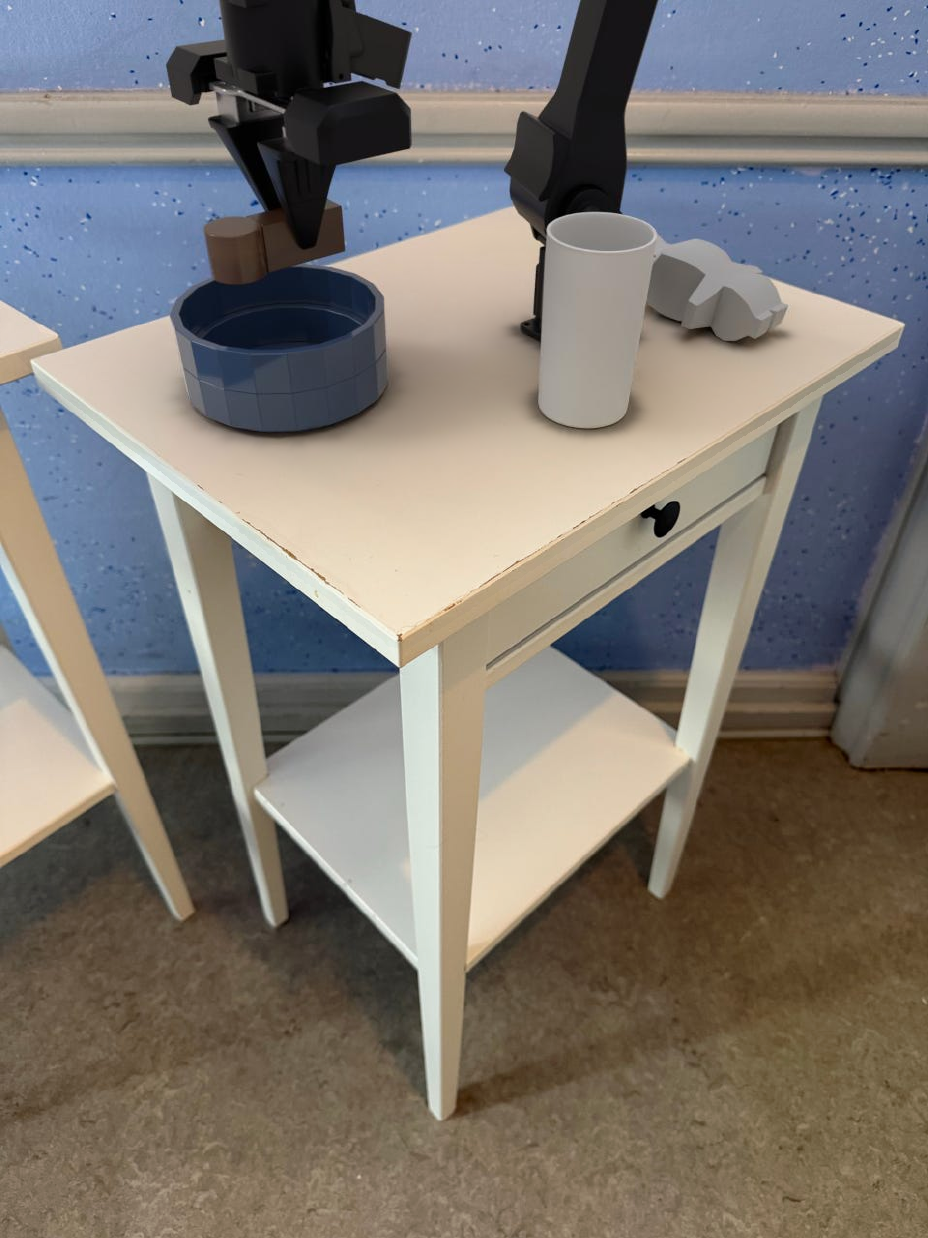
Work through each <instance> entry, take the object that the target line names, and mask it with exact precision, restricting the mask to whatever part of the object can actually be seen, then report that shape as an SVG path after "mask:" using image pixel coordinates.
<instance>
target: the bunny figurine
mask: <svg viewBox="0 0 928 1238" xmlns="http://www.w3.org/2000/svg"><path fill="white" fill-rule="evenodd" d="M763 273H764V271H762V270H761V269H760V268H759V267H758V266H756V265H751V264H743V263H738V262H735V261H732V259H731V258H730V256H729V255H728V253H727V252H726V251H725V250H724V249H722V248H721V247H719V246H718V245H717V244H715V243H712V242H710V241H708V240H705V239H700V238H697V237H695V238H692V239H688V240H684V241H680V242H676V243H672V244H668V243H667V242H666V241H665V240H664V238H663V237H662V236H661V235H659V234H658V233H657V239H656V244H655V251H654V258H653V265H652V271H651V277H650V283H649V288H648V294H647V300H646V302H647V305H649V307H651V308H652V309H654V310H655V311H656V312H658V313H659V314H660V315H663V316H664V317H667V318H669V319H672V320H675V321H678V322H681V324H680V327H682V328H685V329H689V330H692V329H700V328H707V327H709V328H710V327H711V329H712V331H713V333H714V334H715V336H716V337H718V338H719V339H721V340H722V341H723V342H724V341H725V342H736V341H739V340H740V339H744V338H746V337H750V338H753V339H754V340H755V339H758V338H759V337H761V336H762V335H764V334H766V333H767V331H768V330H771V331H772V330H773V329H775V328H776V327H778V326H779V325H781V324H782V323H783V320H784V318H785V315H786V312H787V310H788V307H789V305H788V304H786V303H784V302H782V298H781V296H780V293H779V291H778V287H777V286H776V285H775V284H774V283H773V281H772V280H771V278H769V277H767V276H765V275H763Z"/></svg>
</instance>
